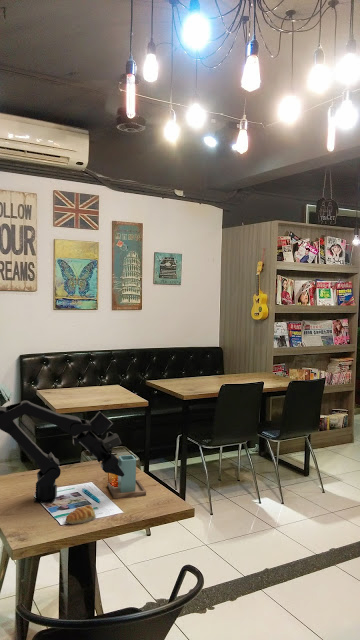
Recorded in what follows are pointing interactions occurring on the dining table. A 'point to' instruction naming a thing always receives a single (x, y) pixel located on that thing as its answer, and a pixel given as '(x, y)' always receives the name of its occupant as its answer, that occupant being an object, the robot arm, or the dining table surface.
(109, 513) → the dining table surface
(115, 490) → the tray
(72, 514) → the pastry
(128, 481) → the light blue square vase
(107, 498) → the dining table surface
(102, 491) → the dining table surface
